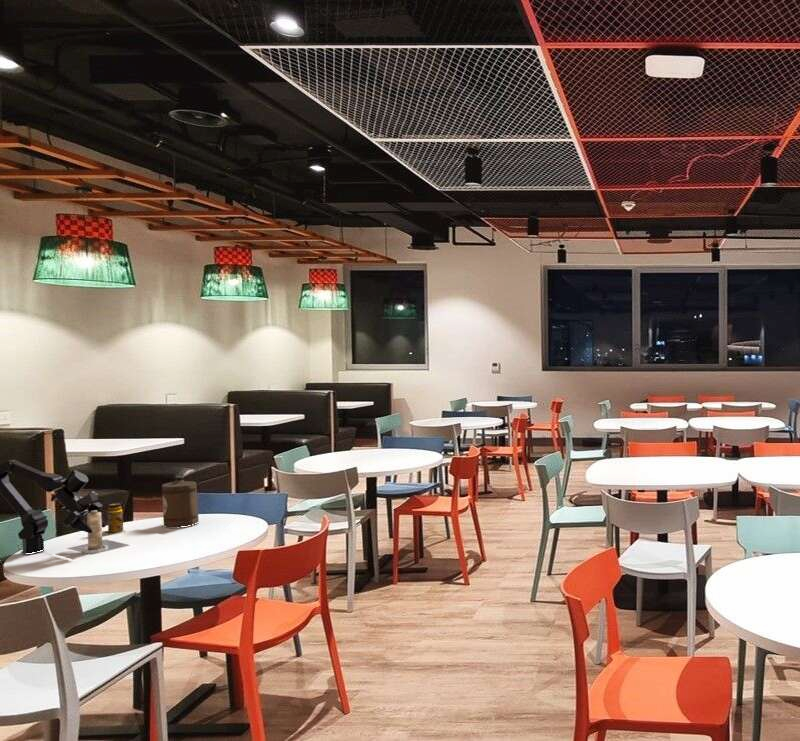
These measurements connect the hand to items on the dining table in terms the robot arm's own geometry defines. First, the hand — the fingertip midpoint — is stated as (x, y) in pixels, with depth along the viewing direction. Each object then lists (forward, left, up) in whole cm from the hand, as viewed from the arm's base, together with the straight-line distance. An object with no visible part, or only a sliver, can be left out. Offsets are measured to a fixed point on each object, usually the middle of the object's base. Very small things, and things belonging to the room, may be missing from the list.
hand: (98, 529), depth 280 cm
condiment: (+22, +28, -9) cm, 37 cm away
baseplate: (+3, +6, -9) cm, 11 cm away
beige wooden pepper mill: (-1, +1, -8) cm, 8 cm away
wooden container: (+46, +14, -9) cm, 49 cm away
